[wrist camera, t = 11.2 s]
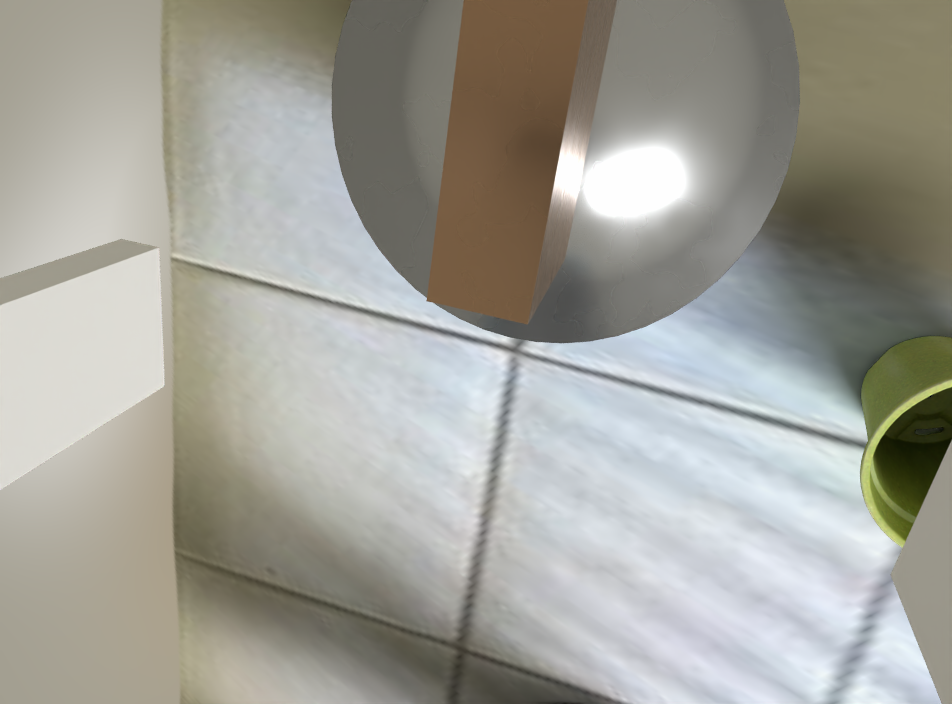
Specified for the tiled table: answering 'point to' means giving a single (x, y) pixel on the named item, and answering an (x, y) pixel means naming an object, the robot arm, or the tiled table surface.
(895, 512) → the plant pot
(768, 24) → the lid
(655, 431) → the tiled table surface
